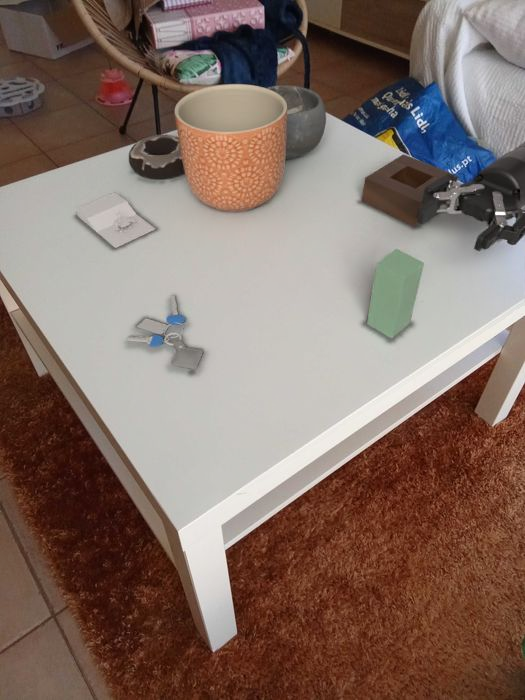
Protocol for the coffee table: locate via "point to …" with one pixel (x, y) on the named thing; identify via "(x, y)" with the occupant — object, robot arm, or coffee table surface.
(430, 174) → the mount block
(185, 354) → the key chain
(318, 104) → the bowl
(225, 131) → the planter
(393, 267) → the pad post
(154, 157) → the donut
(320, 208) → the coffee table surface
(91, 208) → the small white envelope
